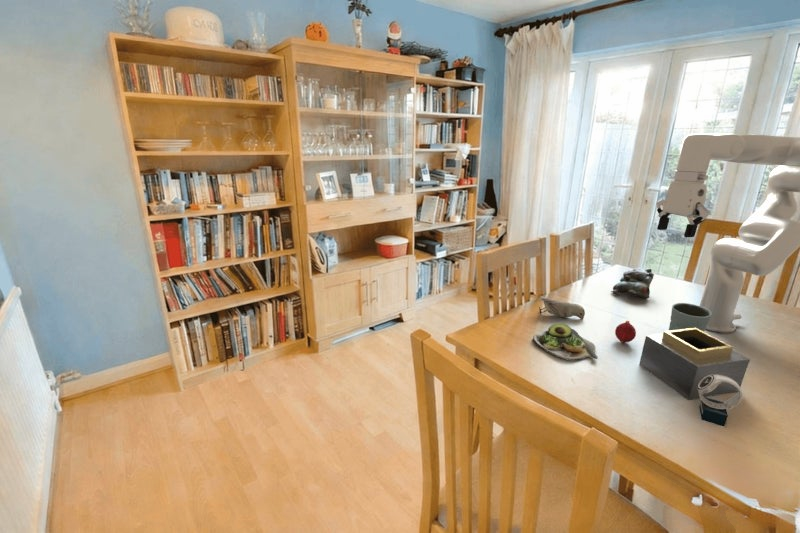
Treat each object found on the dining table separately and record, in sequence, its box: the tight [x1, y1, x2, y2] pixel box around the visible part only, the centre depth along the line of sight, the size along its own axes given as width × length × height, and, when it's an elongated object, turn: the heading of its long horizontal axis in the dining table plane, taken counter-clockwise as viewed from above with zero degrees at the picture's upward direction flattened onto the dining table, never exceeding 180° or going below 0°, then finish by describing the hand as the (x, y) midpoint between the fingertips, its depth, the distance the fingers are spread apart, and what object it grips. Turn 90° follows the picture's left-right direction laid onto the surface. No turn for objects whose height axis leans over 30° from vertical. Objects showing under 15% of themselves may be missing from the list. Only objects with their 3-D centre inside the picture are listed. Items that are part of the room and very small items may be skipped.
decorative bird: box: [538, 295, 586, 321], centre depth 140 cm, size 5×16×8 cm, turn 72°
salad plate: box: [533, 323, 599, 361], centre depth 120 cm, size 19×18×5 cm
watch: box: [697, 374, 743, 428], centre depth 89 cm, size 6×8×11 cm
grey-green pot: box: [667, 302, 712, 332], centre depth 121 cm, size 10×10×12 cm
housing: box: [638, 328, 751, 401], centre depth 103 cm, size 16×16×12 cm
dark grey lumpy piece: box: [611, 268, 655, 300], centre depth 158 cm, size 15×12×14 cm
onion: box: [614, 319, 637, 344], centre depth 122 cm, size 6×6×8 cm
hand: (674, 233), depth 117 cm, fingers open, 9 cm apart
